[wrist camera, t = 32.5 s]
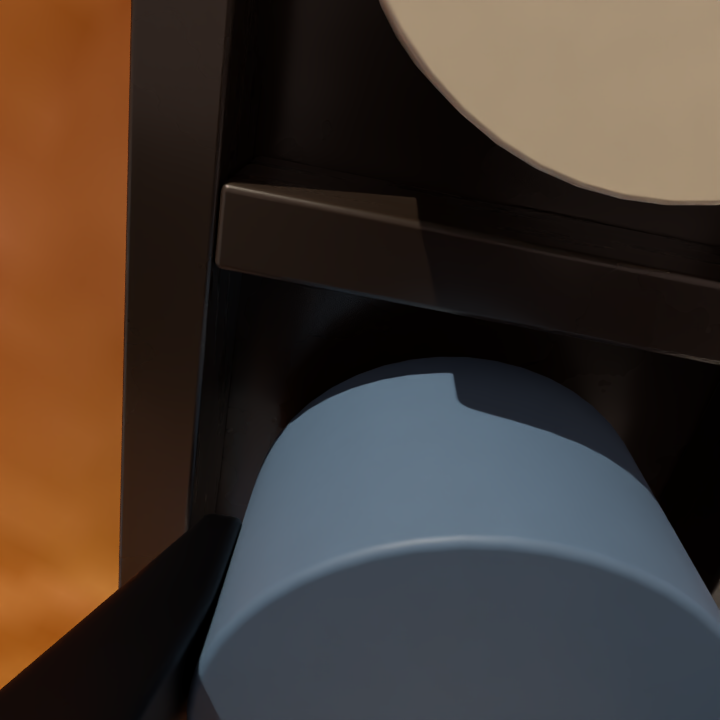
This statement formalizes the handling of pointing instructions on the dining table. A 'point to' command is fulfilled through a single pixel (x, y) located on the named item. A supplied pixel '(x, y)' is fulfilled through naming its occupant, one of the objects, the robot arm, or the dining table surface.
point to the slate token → (456, 564)
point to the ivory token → (583, 86)
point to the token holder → (375, 263)
